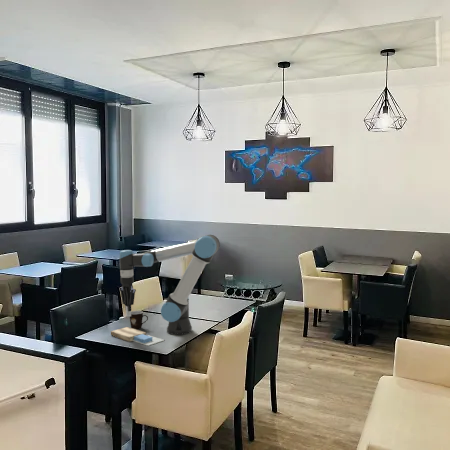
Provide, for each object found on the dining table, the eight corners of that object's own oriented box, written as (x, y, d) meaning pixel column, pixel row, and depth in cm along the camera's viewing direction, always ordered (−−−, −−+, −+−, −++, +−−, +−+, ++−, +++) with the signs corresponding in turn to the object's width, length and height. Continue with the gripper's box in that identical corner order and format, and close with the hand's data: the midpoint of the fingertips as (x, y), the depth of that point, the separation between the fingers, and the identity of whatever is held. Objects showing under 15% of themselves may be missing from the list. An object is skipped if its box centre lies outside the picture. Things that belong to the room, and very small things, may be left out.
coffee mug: (126, 328, 278) (126, 312, 277) (137, 325, 284) (137, 310, 284) (138, 332, 270) (137, 315, 269) (149, 328, 276) (148, 313, 276)
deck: (127, 330, 272) (127, 326, 272) (146, 336, 261) (146, 332, 260) (110, 335, 263) (110, 331, 263) (129, 341, 252) (129, 337, 251)
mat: (148, 335, 262) (148, 335, 262) (164, 340, 253) (164, 340, 253) (132, 340, 253) (132, 340, 253) (147, 346, 244) (147, 345, 244)
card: (133, 339, 253) (133, 336, 253) (142, 337, 258) (142, 334, 258) (143, 343, 247) (143, 339, 247) (152, 340, 252) (152, 337, 252)
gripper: (114, 276, 262) (116, 316, 263) (128, 278, 253) (130, 319, 254) (125, 274, 267) (127, 313, 268) (139, 276, 259) (140, 316, 260)
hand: (128, 316), depth 261 cm, fingers closed
